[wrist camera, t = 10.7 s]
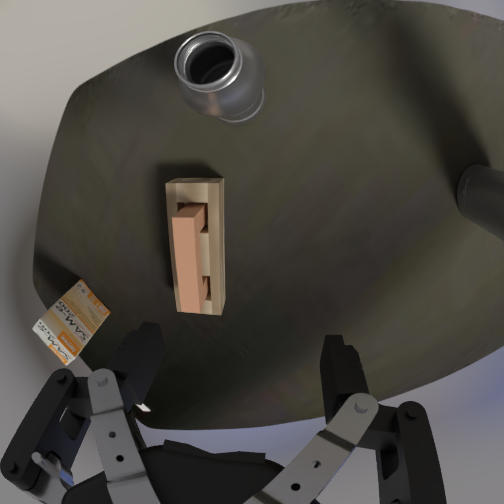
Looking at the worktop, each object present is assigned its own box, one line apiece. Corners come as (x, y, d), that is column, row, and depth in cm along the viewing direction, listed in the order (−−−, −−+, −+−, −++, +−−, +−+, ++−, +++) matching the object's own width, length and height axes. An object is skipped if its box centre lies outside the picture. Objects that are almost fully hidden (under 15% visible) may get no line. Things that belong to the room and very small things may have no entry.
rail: (224, 178, 35) (218, 183, 31) (225, 299, 42) (221, 315, 38) (176, 178, 35) (165, 183, 31) (184, 296, 42) (177, 311, 38)
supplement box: (112, 311, 45) (77, 359, 33) (99, 321, 46) (66, 367, 34) (81, 276, 42) (39, 318, 30) (70, 289, 43) (30, 329, 31)
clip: (207, 201, 35) (193, 217, 29) (210, 284, 40) (200, 313, 33) (189, 201, 35) (172, 217, 29) (194, 283, 40) (181, 311, 33)
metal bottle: (202, 106, 31) (128, 78, 13) (237, 66, 29) (202, -6, 10) (242, 136, 32) (209, 136, 14) (278, 97, 30) (290, 48, 12)
